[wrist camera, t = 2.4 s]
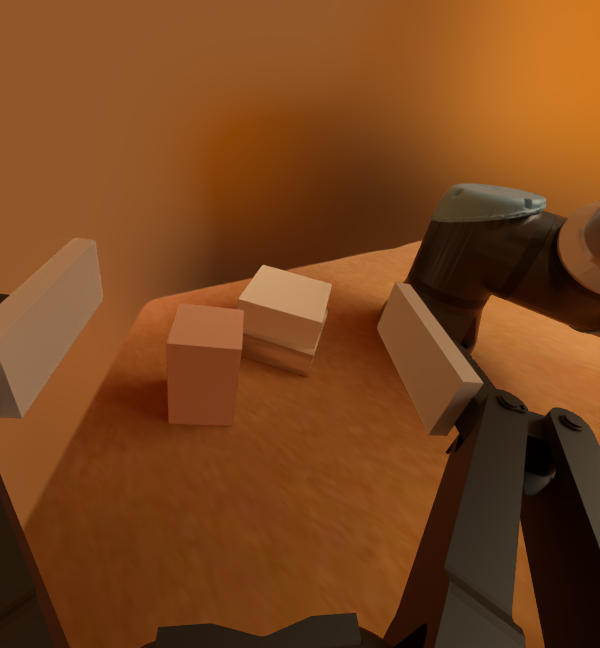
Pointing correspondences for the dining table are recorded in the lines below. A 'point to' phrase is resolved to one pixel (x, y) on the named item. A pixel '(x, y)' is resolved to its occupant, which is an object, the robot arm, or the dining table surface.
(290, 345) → the tower base block
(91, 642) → the dining table surface
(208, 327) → the tall block
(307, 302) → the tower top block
